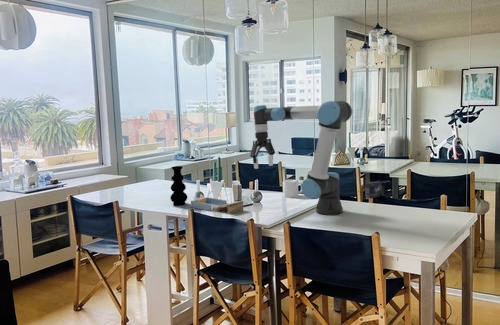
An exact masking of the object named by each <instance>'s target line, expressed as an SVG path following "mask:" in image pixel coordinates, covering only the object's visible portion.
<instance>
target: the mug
mask: <svg viewBox="0 0 500 325" xmlns="http://www.w3.org/2000/svg"><path fill="white" fill-rule="evenodd" d="M299 185H300V186H301V185H302V182H299V180H297V179H284V180H282V194H283V198H285V199H286V198H287V199H294V198H298V197H299V194H303V192H302V189H301V188H300V191H299Z"/></svg>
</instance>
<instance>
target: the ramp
mask: <svg viewBox="0 0 500 325" xmlns="http://www.w3.org/2000/svg"><path fill="white" fill-rule="evenodd" d="M213 209H214V210H213V211H214V212H218V211H219V212H221V211H223V210H226V209H227V214H229V215H231V214H236V213H238V212H242V211H244V201H243V200H240V201H235V202H231V203H227V204H225V205H221V206H217V207H213Z"/></svg>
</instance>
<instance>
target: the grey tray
mask: <svg viewBox="0 0 500 325" xmlns="http://www.w3.org/2000/svg"><path fill="white" fill-rule="evenodd" d="M203 198H204V199H205V200H206V203H201V202H198V200H199V199H200V198H198V199H194V200H190V208H192V207H193V209H198V210H203V211H208V212H211V211H214V209H213V207H217V206H221V205H225V204H228V200H226V199H221V198H216V197H215V198H214V197H209V196H208V197H203Z"/></svg>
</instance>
